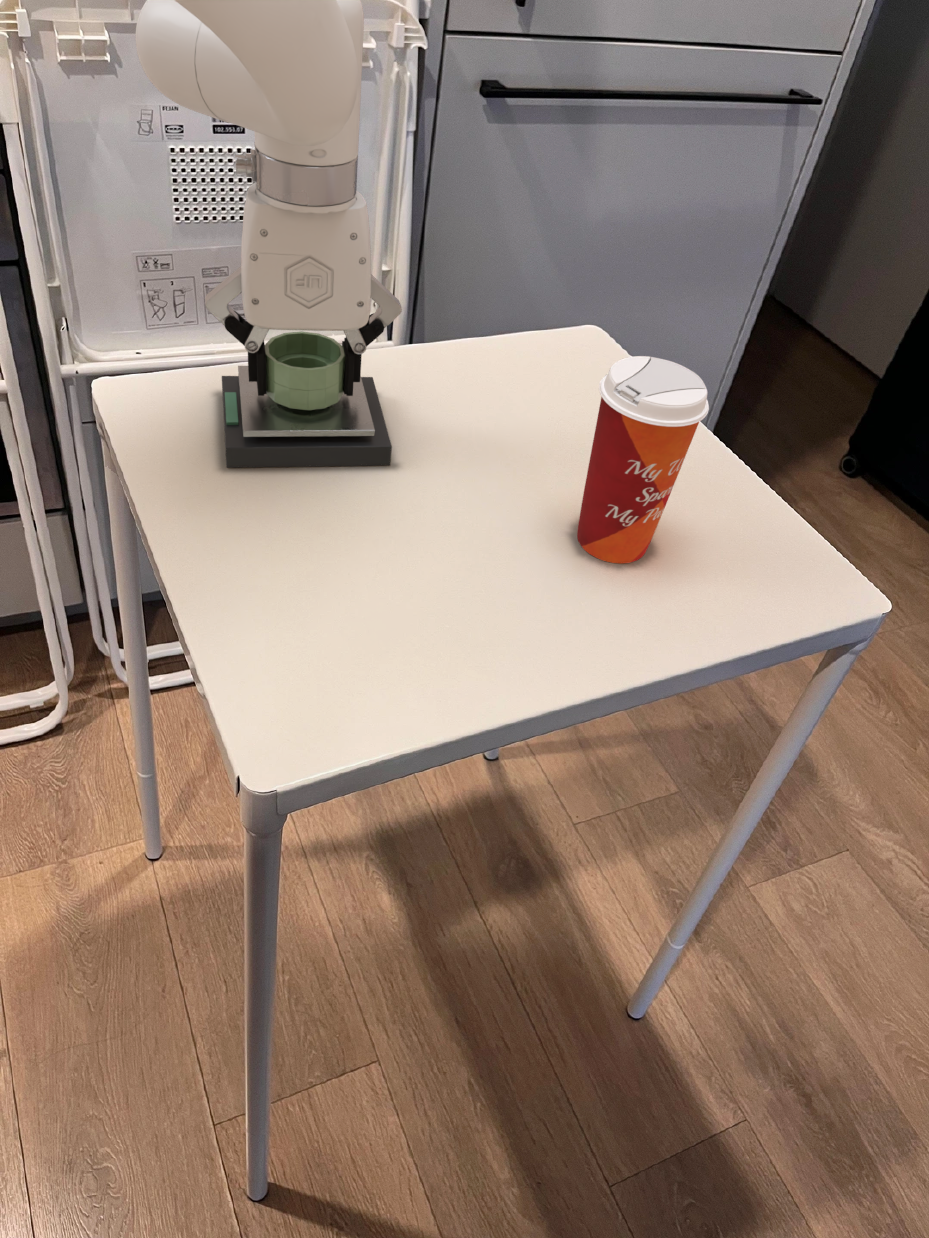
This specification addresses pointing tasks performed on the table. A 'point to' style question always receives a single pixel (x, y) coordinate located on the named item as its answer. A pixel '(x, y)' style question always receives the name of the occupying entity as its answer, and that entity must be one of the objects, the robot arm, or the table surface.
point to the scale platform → (302, 414)
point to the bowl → (304, 370)
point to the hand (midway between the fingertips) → (304, 386)
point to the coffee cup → (637, 453)
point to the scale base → (302, 439)
